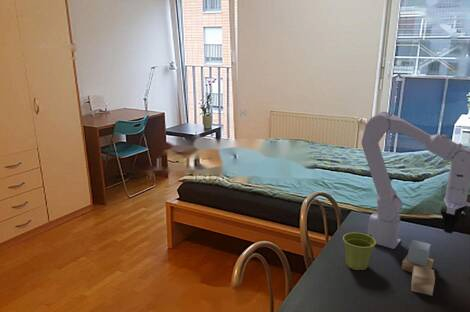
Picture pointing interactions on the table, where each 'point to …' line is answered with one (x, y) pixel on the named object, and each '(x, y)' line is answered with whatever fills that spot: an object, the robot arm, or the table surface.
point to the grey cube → (419, 252)
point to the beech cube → (423, 280)
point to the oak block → (409, 266)
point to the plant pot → (358, 250)
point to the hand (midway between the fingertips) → (450, 228)
